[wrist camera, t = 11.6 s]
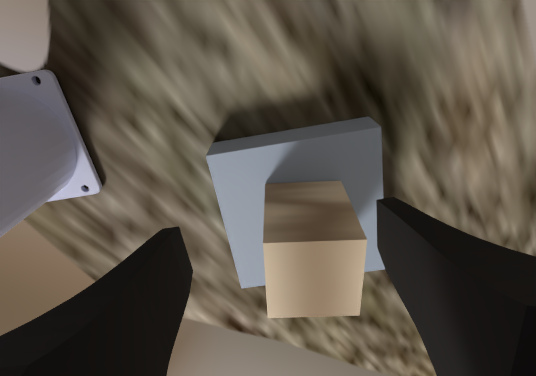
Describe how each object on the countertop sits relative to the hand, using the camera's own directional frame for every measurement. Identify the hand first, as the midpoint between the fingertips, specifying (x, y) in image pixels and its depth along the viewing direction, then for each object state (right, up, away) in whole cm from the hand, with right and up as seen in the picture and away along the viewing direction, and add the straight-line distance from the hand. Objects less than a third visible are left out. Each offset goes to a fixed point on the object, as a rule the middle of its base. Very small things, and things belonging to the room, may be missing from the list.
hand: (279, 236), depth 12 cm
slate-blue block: (+2, +1, +11) cm, 12 cm away
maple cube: (+2, 0, +9) cm, 9 cm away
